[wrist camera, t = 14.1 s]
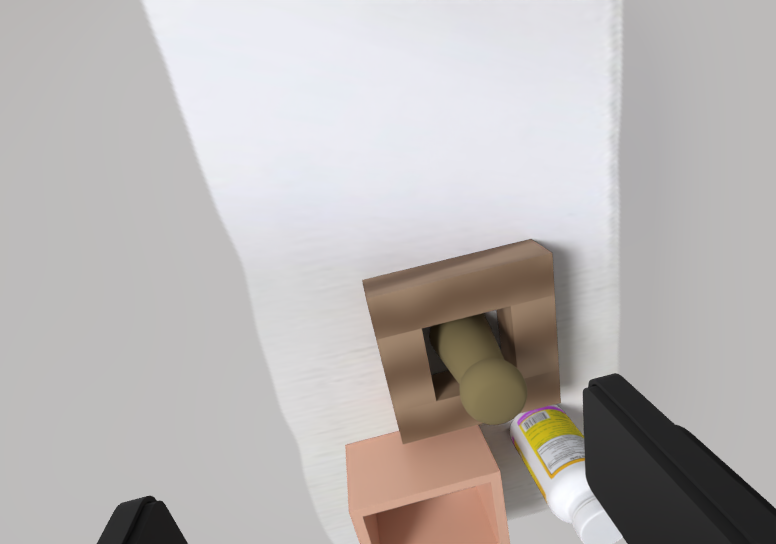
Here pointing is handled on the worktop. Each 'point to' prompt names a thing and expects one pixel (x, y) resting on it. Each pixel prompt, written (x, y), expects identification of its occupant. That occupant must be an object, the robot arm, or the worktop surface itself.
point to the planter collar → (426, 490)
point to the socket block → (455, 301)
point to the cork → (480, 369)
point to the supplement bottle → (562, 471)
